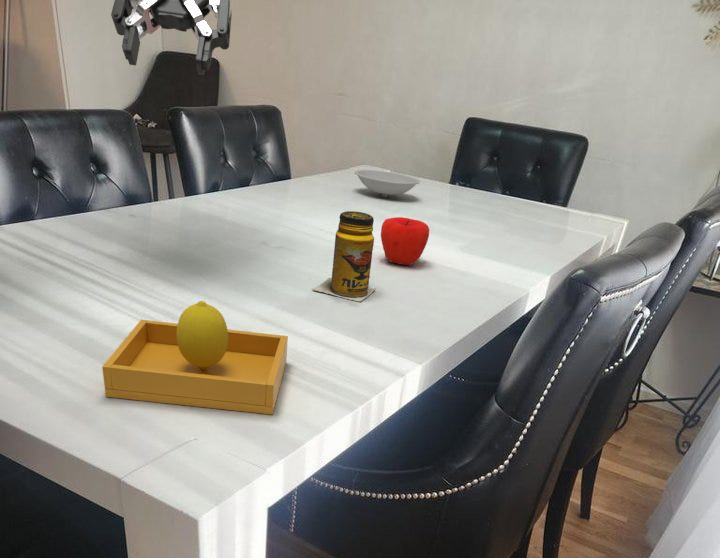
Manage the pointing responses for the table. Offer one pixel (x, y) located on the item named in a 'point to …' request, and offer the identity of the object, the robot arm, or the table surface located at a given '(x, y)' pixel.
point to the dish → (386, 182)
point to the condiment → (351, 258)
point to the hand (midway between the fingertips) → (165, 64)
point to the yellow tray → (197, 370)
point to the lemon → (202, 335)
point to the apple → (404, 239)
